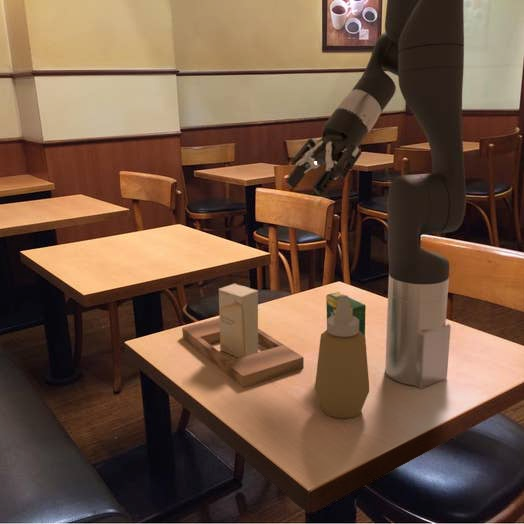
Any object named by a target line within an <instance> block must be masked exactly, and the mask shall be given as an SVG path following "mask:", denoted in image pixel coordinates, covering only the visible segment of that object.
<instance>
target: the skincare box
mask: <svg viewBox="0 0 524 524" xmlns="http://www.w3.org/2000/svg"><path fill="white" fill-rule="evenodd" d="M218 306H219V307H218V309H219V311H218V312H219V315H218V316H219V320H220V341H219V350H220V351H222V352H225V353H227V354H229V355H231V356H234V357H237V359H238V358H241V357H245V356H248V355H251V354H255V353H258V352H259V342H258V329H259V291H258V289H255V288H251V287H249V286H245V285H241V284H238V283H231V284H229V285H225V286H223V287H220V288H218Z"/></svg>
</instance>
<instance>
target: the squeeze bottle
mask: <svg viewBox="0 0 524 524" xmlns="http://www.w3.org/2000/svg"><path fill="white" fill-rule="evenodd" d="M348 297H349V296H348V295H347V294H344V295H340V296H339V300H338V304H337V308H336V312H335V315H333V316H330V317H329V318H328V319H327V318H326V330H325V331H323V332H322V333H321V335H320V337H319V338H320V339H319V346H318V347H319V348H318V356H317V364H316V375H315V383H314V390H315V393H316V396H317V397H318V400H319V404H320V406H321V408H322V410H323V412H324V413H325V414H327V415H328V416H330V417H334V418H336V419H337V418H339V419H347V418H349V419H350V418H353V417H356V416H357V415H359V414H360V413H361V412H362V410H363V407H364V405H365V402H366V400H367V397H368V395H369V393H370V382H369V381H370V379H369V378H370V377H369V368H368V367H369V365H368V354H367V353H368V352H367V342H366V341H367V340H366V335H365V336H364V335H363V334H362V333H361V332H360V331H359V319H358V318H356V317H354V316H352V315H351V310H350V305H349V300H348Z"/></svg>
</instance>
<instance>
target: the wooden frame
mask: <svg viewBox="0 0 524 524" xmlns="http://www.w3.org/2000/svg"><path fill="white" fill-rule="evenodd" d="M181 328H182V329H181V331H182V333H181V334H182V338H183V339H185V340H186V341H187V342H188V343H189V344H191V346H193V347H194V348H196V349H197V351H199V352H201V353H202V354H203V355H204V356H205V357H206V358H207V359H209V360H210V361H211V362H212V363H214V364H215V365H216V367H218V368H219V369H220V370H222V371H223V372H225V373H226V374H227V375H228V376H229V377H231V378H232V379H233V380H234V381H236V383H238V384H239V385H240V386H241V387H243V388H245V387H248V386H251V385H256V384H257V383H261V382H263V381H267V380H270V379H273V378H276V377H280V376H282V375H285V374H288V373H291V372H294V371H297V370H300V369H303V368H304V366H305V365H304V363H305V362H304V361H305V360H304V358H305V357H304V356H303V355H301V354H299V353H298V352H297V351H296V350H293V349H291V348H290V347H288V346H286V345H285V344H283V343H282V342H281V341H279V340H278V339H276V338H274V337H273V336H271V335H269V334H268V333H266V332H265V331H263V330H261V329H260V328H258V344H260V345H262V346H263V347H265V348H266V350H263V351H258V352H257V353H255V354H251V355H248V356H245V357H241V358H238V357H237V358H236V359H232V360H230V359H229V358H228V357H226V356H225V355H224V354H223V353H222V352H220V351H219V350H218V349H216V348H215V347H213V345H212V344H216V343H218V342H219V343H220V320H219V318H216V319H211V320H207V321H203V322H199V323H195V324H191V325H187V326H184V327H181Z"/></svg>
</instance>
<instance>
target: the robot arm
mask: <svg viewBox="0 0 524 524" xmlns="http://www.w3.org/2000/svg"><path fill="white" fill-rule="evenodd" d="M464 4H465V3H464V0H386V11H385V18H384V19H385V20H384V31H385V32H383V33H381V35H380V36H379V37H378V38H377V40H376V42H375V44H374V46H373V49H372V52H371V56H370V59H369V60H368V63H367V65H366V68H365V70H364V71H363V74H362V75H361V77H360V78H359V80H358V81H357V83H356V84H355V85H354V86H353V88H352V89H351V91H349V93H348V94H347V95H345V97H344V98H343V99H342V101H340V103H339V104H338V106H337V107H336V109H334V111H333V112H332V113H331V115H330V117H329V118H328V119H327V120H326V122H325V124H324V125H323V126H322V134H323V135H322V137H321V138H320V139H318V141H314V139H313V138H309V139H307V141H305V143H304V144H303V146H302V147H301V149H299V151H298V152H297V153H296V155H295V156H294V157H292V160H291V162H292V163H293V165H294V166H295V167H294V169H293V170H292V172H291V173H290V175H289V176H288V177H287V179H286V180H285V183H286V184H287V185H288V186H289V187H290V188H291V189H296V188H297V186H298V185H299V183H300V182H301V181H302V180H303V178H304V177H305V176H306V173H307V172H309V171H310V170H312V169H313V170H314V169H315V170H316V169H318V168H319V167H320V166H321V167H322V166H326V167H325V171H323V172H322V173H321V174H320V175H319V177H318V179H317V180H316V182H315V183H314V184H313V186H312V190H314V192H316V193H317V194H318V195H323V194H324V193H325V191H327V189H328V188H329V186H330V185H331V184H332V182H333V181H334V180H337V179H338V178H339V177H341V178H343V179H344V178H346V177H347V176H348V175H349V173H350V171H351V170H352V169H353V167H354V166H355V164H356V163H357V161H358V160H359V158H360V157H361V155H362V151H361V149H359V146H360V145H362V142H363V140H365V138H366V137H367V135H368V134H369V133H370V131H371V130H372V128H374V125H375V124H376V122H377V121H378V119H379V118H380V115H381V114H382V112H383V111H384V110H385V108H386V107H387V105H388V104H389V103H390V101H391V100H392V99H393V97H394V95H395V93H396V88H397V87H396V84H395V83H396V82H395V81H394V80H393V79H392V77H390V75H389V74H388V73H386V72H385V71H387V72H389V73H391V74H393V75H395V76H397V78H398V85H399V86H398V87H399V89H400V92H401V94H402V98H403V99H404V101H405V102H406V105H407V106H408V108H409V110H410V111H411V113H412V114H413V116H414V118H415V119H416V120H417V122H418V124H419V125H420V127H421V129H422V131H423V133H424V135H425V136H426V137H425V138H426V139H427V142H428V146H429V149H430V154H431V157H430V158H431V166H432V167H431V168H432V169H431V170H432V172H431V173H418V174H406V175H405V174H404V175H398V176H395V178H394V179H393V180H392V182H391V183H390V186H389V188H388V194H387V204H386V205H387V206H386V207H387V210H386V212H387V215H386V216H387V257H388V287H387V291H388V292H387V293H388V294H387V310H386V311H387V315H386V319H387V320H386V341H385V342H386V344H385V366H384V368H385V369H384V370H385V374H386V375H387V376H388V377H389V378H390V379H392V380H394V381H396V382H398V383H402V384H405V385H411V386H415V387H418V388H419V389H423V388H426V387H428V386H429V385H432V384H435V383H437V382H440V381H443V380H446V379H447V378H448V370H449V368H448V367H449V357H450V356H449V352H450V342H451V341H450V339H451V324H449V323H448V322H447V309H448V308H447V306H448V293H449V279H450V262H449V260H448V258H447V257H445V256H444V255H442V254H440V253H437V252H434V251H432V250H431V251H430V250H427V249H423V248H422V247H420V242H419V236H420V235H433V234H445V233H451V232H456V231H457V230H458V229H459V228H460V227H461V226H462V224H463V221H464V217H465V213H466V209H467V208H466V207H467V188H466V187H467V185H466V173H465V157H464V155H465V154H464V144H463V142H464V141H463V87H464V85H463V84H464V71H465V70H464V62H465V61H464V60H465V59H464V58H465V57H464V56H465V27H464V26H465V25H464V23H465V21H464V19H465V18H464V17H465V16H464V15H465V14H464V11H465V8H464ZM384 70H385V71H384ZM344 164H345V167H344V168H343V166H344Z"/></svg>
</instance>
